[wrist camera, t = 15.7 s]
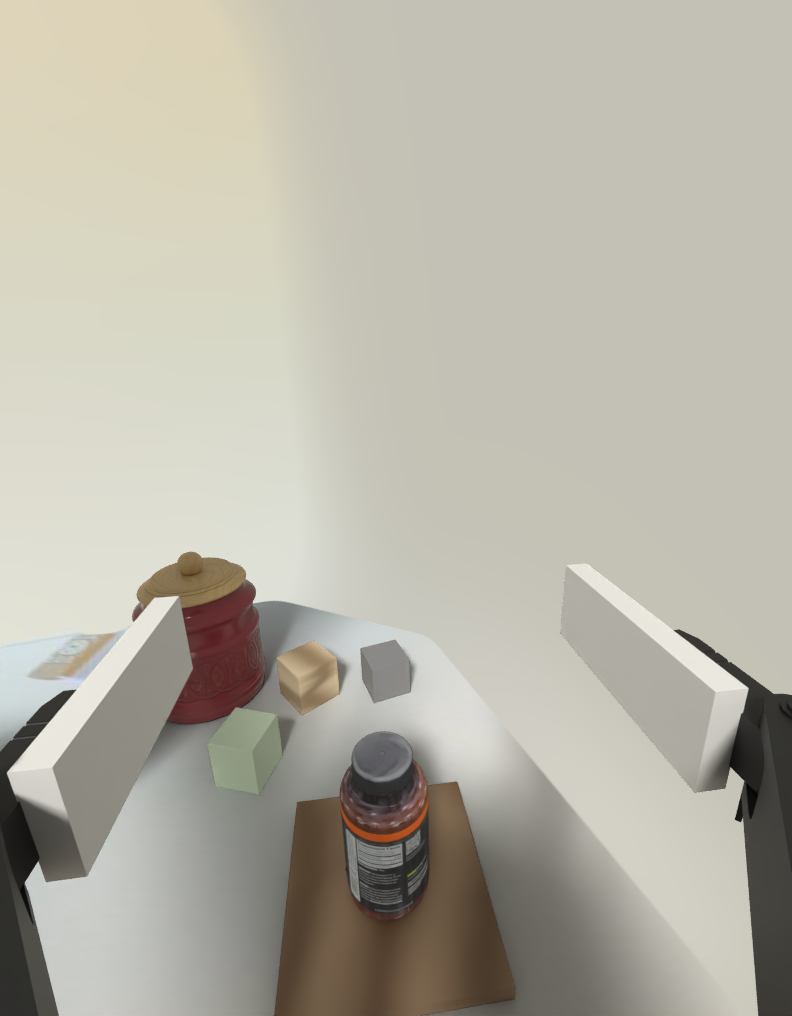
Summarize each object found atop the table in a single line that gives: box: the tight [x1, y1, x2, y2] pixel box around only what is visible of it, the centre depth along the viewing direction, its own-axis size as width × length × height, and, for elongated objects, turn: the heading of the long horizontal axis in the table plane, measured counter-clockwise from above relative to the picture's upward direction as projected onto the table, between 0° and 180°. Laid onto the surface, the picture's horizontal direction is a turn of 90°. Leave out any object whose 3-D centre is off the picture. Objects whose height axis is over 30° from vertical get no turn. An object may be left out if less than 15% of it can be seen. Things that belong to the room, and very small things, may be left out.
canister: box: [132, 552, 266, 724], centre depth 52 cm, size 13×13×18 cm
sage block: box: [207, 707, 283, 795], centre depth 42 cm, size 4×4×5 cm
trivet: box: [274, 782, 515, 1016], centre depth 32 cm, size 14×14×1 cm
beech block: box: [276, 640, 340, 715], centre depth 52 cm, size 5×5×5 cm
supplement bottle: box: [340, 731, 429, 921], centre depth 31 cm, size 6×6×11 cm
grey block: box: [360, 640, 410, 703], centre depth 53 cm, size 4×4×4 cm
